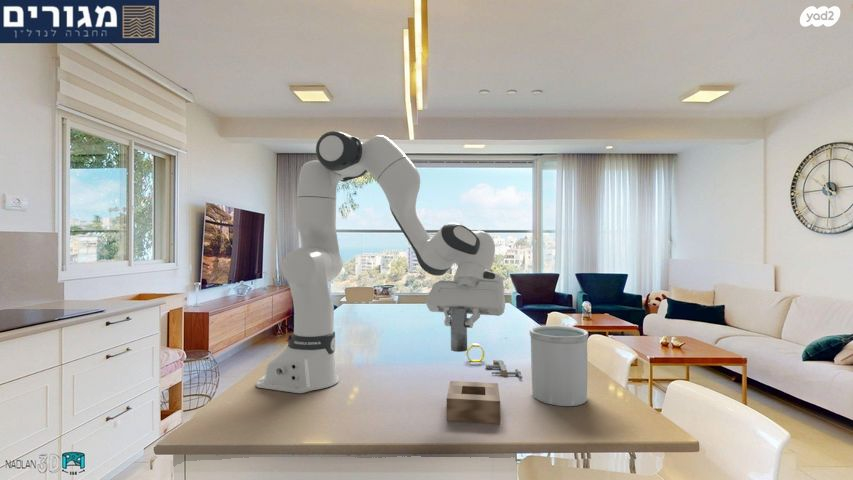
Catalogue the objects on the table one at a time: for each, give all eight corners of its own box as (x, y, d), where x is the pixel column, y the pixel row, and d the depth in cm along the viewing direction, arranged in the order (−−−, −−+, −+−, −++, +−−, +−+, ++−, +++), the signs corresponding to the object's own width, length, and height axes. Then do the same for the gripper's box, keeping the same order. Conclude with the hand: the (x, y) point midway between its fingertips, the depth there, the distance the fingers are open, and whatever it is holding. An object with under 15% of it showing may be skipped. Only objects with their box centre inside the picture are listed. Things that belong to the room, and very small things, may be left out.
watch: (482, 361, 142) (484, 343, 142) (484, 363, 139) (485, 345, 139) (465, 359, 142) (467, 342, 142) (466, 362, 139) (468, 344, 139)
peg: (450, 351, 98) (449, 309, 98) (451, 347, 102) (450, 307, 102) (467, 351, 97) (466, 309, 97) (467, 347, 101) (466, 307, 101)
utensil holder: (526, 403, 103) (526, 333, 104) (532, 384, 117) (532, 323, 117) (589, 411, 98) (589, 338, 98) (587, 391, 112) (587, 327, 112)
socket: (446, 420, 93) (446, 398, 93) (450, 400, 104) (450, 380, 104) (500, 423, 91) (500, 401, 91) (497, 403, 103) (497, 383, 103)
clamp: (484, 359, 136) (514, 359, 136) (484, 366, 136) (514, 366, 136) (489, 373, 121) (523, 374, 121) (489, 381, 121) (523, 381, 121)
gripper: (431, 273, 110) (415, 315, 101) (505, 274, 102) (495, 320, 93) (438, 288, 114) (423, 329, 105) (510, 290, 106) (501, 336, 97)
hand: (457, 325), depth 99 cm, fingers closed on peg, 4 cm apart
